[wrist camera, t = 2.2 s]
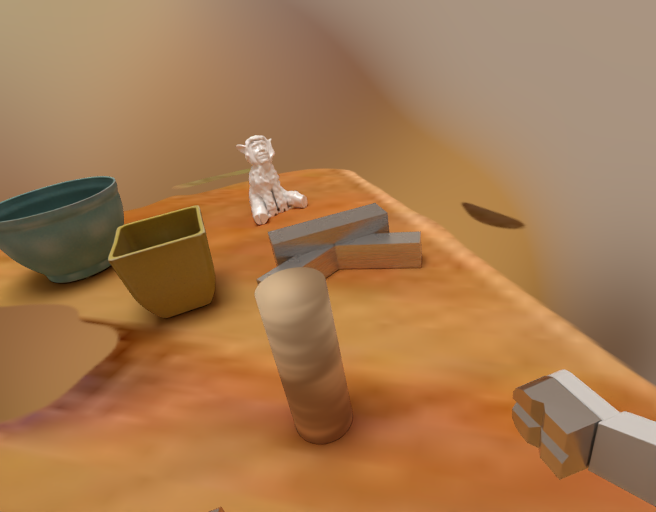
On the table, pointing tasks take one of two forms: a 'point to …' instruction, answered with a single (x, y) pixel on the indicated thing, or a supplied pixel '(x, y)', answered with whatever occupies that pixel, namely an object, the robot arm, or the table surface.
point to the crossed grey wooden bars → (345, 243)
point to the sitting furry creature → (267, 182)
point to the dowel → (306, 351)
